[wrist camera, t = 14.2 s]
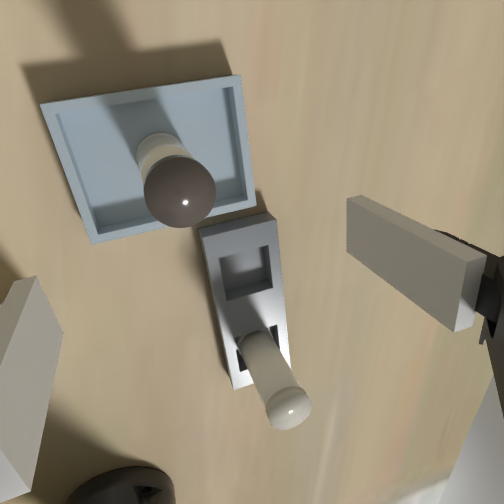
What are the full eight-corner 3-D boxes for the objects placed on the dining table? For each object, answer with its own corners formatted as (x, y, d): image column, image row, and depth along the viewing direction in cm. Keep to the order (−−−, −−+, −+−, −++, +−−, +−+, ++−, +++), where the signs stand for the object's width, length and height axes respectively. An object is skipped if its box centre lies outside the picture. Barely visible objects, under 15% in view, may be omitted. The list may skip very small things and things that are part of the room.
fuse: (238, 357, 47) (272, 435, 37) (233, 330, 45) (267, 405, 35) (271, 346, 48) (312, 419, 38) (268, 319, 46) (310, 389, 36)
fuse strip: (228, 376, 49) (233, 390, 47) (197, 228, 38) (202, 237, 36) (283, 357, 51) (290, 370, 48) (268, 211, 40) (276, 219, 38)
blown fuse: (143, 186, 34) (154, 234, 24) (130, 136, 32) (135, 166, 22) (190, 177, 35) (220, 219, 25) (181, 128, 33) (210, 152, 23)
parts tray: (93, 234, 35) (91, 244, 33) (45, 102, 29) (39, 104, 27) (248, 198, 39) (256, 205, 37) (232, 74, 33) (240, 74, 31)
